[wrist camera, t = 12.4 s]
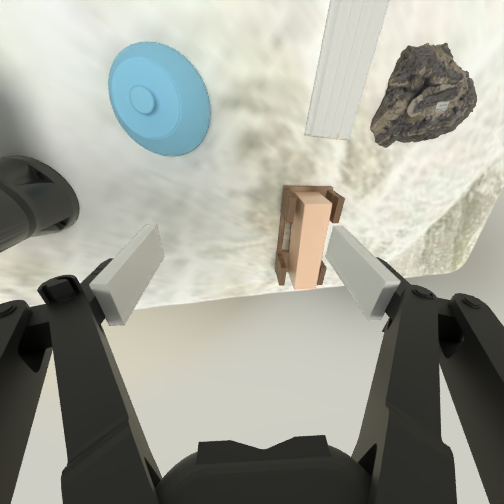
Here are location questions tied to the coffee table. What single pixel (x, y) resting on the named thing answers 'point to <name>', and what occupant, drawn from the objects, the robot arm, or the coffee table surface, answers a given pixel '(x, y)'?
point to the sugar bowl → (159, 98)
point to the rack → (288, 214)
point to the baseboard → (344, 65)
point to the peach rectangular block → (308, 238)
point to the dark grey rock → (424, 97)
